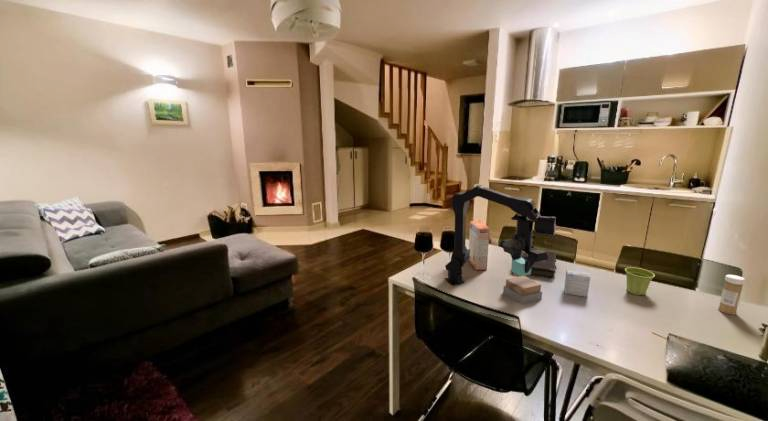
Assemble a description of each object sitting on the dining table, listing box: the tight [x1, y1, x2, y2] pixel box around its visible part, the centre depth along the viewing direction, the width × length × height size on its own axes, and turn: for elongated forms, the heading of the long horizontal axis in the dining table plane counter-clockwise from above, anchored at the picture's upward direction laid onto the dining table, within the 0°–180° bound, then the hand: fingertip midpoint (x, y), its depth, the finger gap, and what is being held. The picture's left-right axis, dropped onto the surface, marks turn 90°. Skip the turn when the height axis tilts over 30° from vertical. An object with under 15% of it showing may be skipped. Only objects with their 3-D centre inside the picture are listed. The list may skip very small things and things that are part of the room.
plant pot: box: [624, 267, 656, 296], centre depth 127 cm, size 9×9×9 cm
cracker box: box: [468, 220, 491, 271], centre depth 156 cm, size 14×6×21 cm, turn 179°
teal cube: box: [510, 258, 531, 277], centre depth 123 cm, size 5×5×5 cm
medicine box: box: [563, 269, 591, 298], centre depth 127 cm, size 8×4×9 cm, turn 65°
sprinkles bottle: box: [717, 274, 746, 316], centre depth 112 cm, size 5×5×13 cm
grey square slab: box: [502, 284, 543, 305], centre depth 127 cm, size 10×10×4 cm
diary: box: [520, 248, 558, 280], centre depth 155 cm, size 19×25×5 cm
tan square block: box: [505, 275, 542, 296], centre depth 126 cm, size 9×9×3 cm
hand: (521, 270), depth 124 cm, fingers closed on teal cube, 5 cm apart
